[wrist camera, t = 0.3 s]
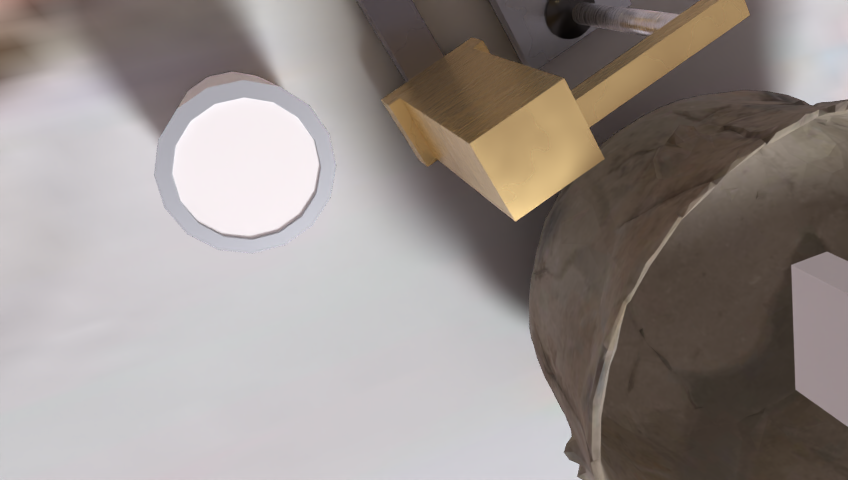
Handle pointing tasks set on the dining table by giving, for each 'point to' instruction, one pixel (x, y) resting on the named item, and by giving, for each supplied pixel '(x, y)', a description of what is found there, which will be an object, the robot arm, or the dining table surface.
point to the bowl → (693, 291)
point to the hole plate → (543, 26)
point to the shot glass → (244, 164)
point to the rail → (402, 34)
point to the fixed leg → (541, 103)
